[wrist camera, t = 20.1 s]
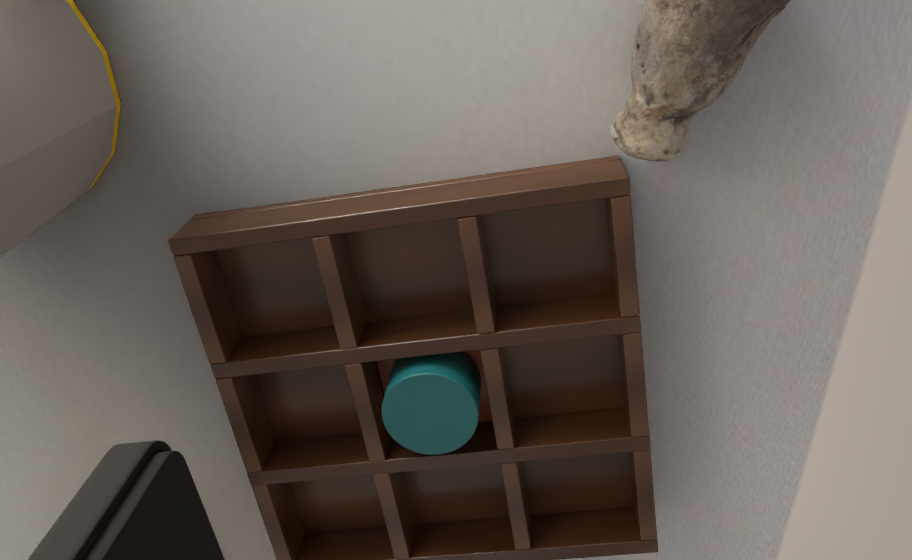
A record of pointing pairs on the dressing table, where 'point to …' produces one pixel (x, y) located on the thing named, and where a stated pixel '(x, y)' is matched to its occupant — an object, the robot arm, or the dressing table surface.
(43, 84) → the soap bottle
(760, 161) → the dressing table surface
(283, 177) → the dressing table surface
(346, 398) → the grid
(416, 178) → the dressing table surface
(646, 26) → the stone
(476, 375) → the cylinder
